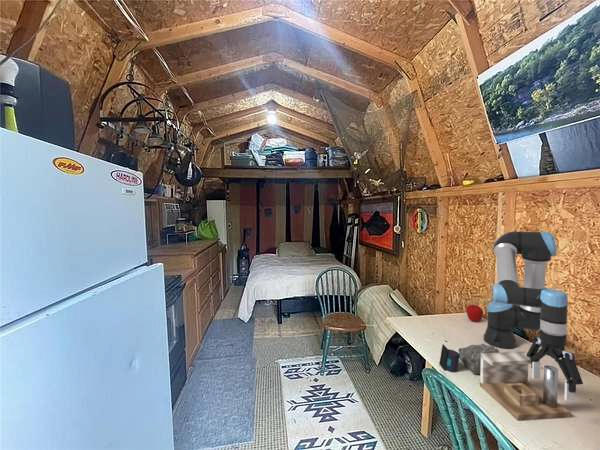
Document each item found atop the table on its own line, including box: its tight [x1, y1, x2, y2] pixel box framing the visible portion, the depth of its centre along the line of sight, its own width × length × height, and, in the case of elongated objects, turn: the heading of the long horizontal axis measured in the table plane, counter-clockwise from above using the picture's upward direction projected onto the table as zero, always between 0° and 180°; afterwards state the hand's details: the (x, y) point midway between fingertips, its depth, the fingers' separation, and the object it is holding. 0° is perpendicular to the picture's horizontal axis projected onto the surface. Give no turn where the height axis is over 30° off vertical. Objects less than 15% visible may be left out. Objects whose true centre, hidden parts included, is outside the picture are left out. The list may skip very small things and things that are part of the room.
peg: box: [542, 364, 559, 408], centre depth 107 cm, size 4×4×14 cm
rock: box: [457, 343, 501, 375], centre depth 135 cm, size 18×13×15 cm
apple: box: [465, 304, 484, 322], centre depth 190 cm, size 10×10×11 cm
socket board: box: [479, 351, 571, 422], centre depth 113 cm, size 20×20×14 cm
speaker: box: [439, 344, 460, 373], centre depth 135 cm, size 8×6×10 cm
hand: (551, 388), depth 107 cm, fingers open, 12 cm apart
